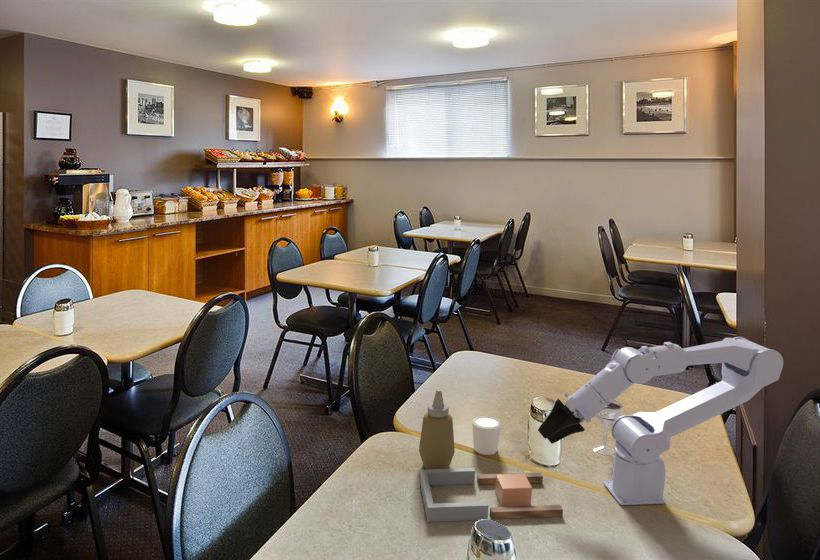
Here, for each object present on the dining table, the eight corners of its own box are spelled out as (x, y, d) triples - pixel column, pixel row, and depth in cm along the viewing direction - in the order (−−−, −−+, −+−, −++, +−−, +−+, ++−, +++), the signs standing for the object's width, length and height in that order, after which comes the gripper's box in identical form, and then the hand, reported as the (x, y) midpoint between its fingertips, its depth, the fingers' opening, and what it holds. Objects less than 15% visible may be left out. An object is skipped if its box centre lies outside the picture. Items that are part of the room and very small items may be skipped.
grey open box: (473, 480, 112) (473, 467, 111) (487, 519, 99) (488, 505, 99) (419, 482, 111) (420, 469, 110) (427, 521, 98) (427, 507, 97)
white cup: (499, 457, 122) (500, 430, 120) (469, 454, 123) (471, 426, 122) (500, 443, 128) (501, 417, 127) (472, 440, 130) (473, 414, 128)
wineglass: (586, 442, 130) (590, 397, 128) (614, 444, 129) (619, 398, 127) (593, 456, 123) (597, 408, 121) (622, 458, 123) (627, 410, 120)
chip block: (523, 491, 109) (524, 473, 108) (530, 505, 104) (532, 487, 103) (495, 492, 108) (496, 474, 108) (501, 506, 103) (502, 488, 103)
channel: (540, 478, 113) (540, 472, 113) (562, 516, 101) (563, 509, 100) (477, 480, 112) (477, 474, 112) (491, 519, 99) (492, 512, 99)
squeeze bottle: (455, 476, 114) (458, 399, 110) (418, 475, 114) (420, 398, 110) (452, 457, 122) (455, 384, 118) (418, 456, 122) (420, 383, 118)
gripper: (587, 386, 112) (538, 426, 113) (578, 369, 100) (524, 415, 100) (611, 412, 108) (560, 453, 109) (605, 398, 96) (548, 445, 97)
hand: (544, 437), depth 104 cm, fingers open, 7 cm apart
